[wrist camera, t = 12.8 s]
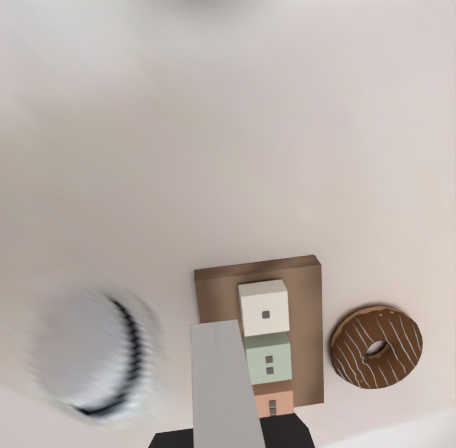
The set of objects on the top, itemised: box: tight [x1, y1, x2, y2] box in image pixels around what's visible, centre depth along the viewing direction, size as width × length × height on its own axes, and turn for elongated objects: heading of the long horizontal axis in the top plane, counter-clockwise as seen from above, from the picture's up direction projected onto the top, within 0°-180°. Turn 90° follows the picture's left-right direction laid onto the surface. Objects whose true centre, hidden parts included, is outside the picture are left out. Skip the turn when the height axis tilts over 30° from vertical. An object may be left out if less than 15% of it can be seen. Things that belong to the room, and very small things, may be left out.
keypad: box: [195, 255, 324, 407], centre depth 46 cm, size 13×18×4 cm
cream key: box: [238, 279, 289, 337], centre depth 42 cm, size 4×4×3 cm
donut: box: [330, 306, 423, 389], centre depth 48 cm, size 11×11×4 cm
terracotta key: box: [252, 380, 294, 418], centre depth 46 cm, size 4×4×3 cm
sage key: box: [243, 331, 292, 385], centre depth 44 cm, size 4×4×3 cm
